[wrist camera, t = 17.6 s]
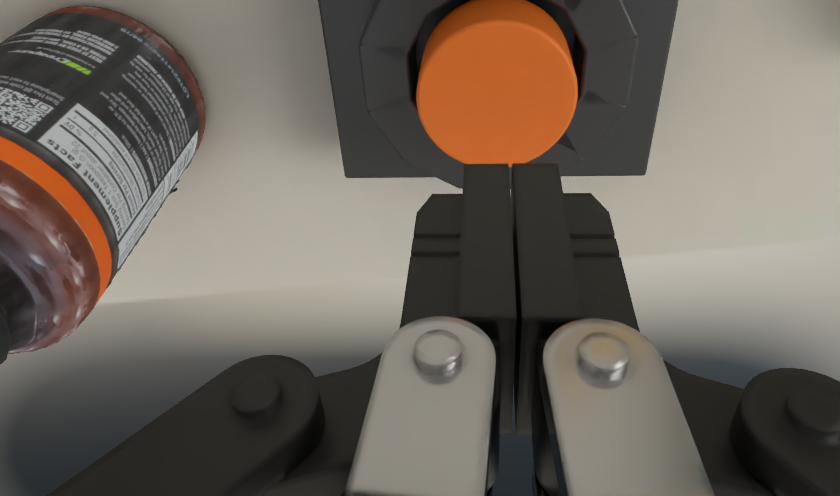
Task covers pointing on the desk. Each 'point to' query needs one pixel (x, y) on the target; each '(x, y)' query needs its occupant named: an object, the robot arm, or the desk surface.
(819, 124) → the desk surface
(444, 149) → the button
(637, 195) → the desk surface
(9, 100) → the supplement bottle
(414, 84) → the control box
